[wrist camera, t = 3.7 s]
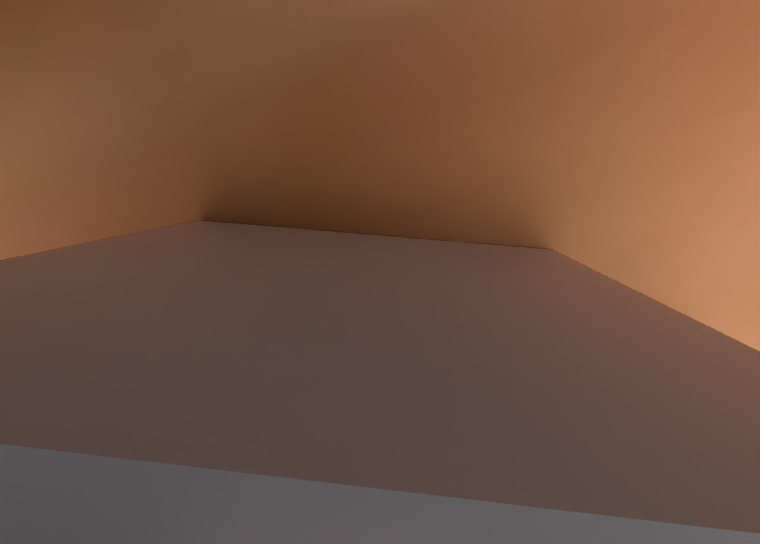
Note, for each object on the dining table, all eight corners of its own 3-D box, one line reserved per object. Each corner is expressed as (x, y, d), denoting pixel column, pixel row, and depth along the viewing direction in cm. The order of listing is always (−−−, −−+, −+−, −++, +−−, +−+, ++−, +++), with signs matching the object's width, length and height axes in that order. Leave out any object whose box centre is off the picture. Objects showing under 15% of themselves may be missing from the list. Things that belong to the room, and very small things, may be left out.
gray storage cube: (198, 220, 11) (-574, 375, 2) (551, 249, 10) (1247, 591, 2) (213, 500, 13) (-125, 1063, 5) (496, 535, 13) (672, 1235, 4)
